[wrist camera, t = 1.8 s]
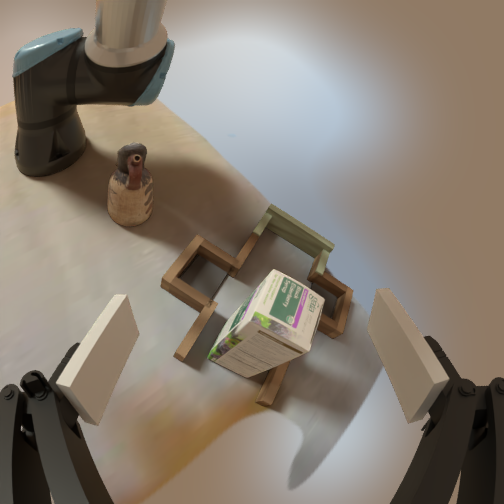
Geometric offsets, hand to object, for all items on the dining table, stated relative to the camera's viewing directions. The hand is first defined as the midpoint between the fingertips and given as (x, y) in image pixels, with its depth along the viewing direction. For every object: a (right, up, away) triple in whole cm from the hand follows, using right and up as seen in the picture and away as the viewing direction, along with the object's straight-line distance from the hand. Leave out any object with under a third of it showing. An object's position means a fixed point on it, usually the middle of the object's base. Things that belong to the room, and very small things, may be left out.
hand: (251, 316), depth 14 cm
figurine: (-18, +10, +25) cm, 33 cm away
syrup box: (-2, -9, +19) cm, 21 cm away
